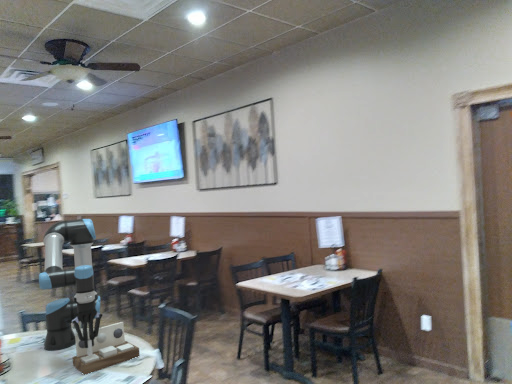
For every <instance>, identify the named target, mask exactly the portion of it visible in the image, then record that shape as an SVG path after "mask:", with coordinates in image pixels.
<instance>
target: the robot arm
mask: <svg viewBox="0 0 512 384" xmlns="http://www.w3.org/2000/svg"><path fill="white" fill-rule="evenodd" d="M96 239H97V236H96V230H95V226H94V221H93V220H92V219H91V218H80V219H70V220H61V221H60V220H59V221H57V222H55V223H53V224H52V225H50V226H49V228H47V229H46V231H45V233H44V236H43V245H44V246H45V248H44V271H43V272H40V273H39V274H38V284H39V286H38V287H39V289H40V290H51V289H57V288H58V289H59V288H63V287H71V286H75V295H74V296H73V299H70V297H63V298H59V299H55V300H53V301H51V302H48V303H47V304H46V306H45V313H44V314H45V322H46V336H45V339H44V342H43V343H44V344H43V347H44V350H45V349H46V350H47V351H59V350H62V349H66V348H69V347H72V346H74V345H76V339H75V334H78V337H79V339H80V340H81V341H84V347H85V348H87V355H89V356H90V355H93V353H92V346H94V339H95V337H97V336H98V332H99V328H100V324H101V320H102V317H103V314H102V313H101V296H100V295H98V291H97V292H96V291H95V281H94V279H95V277H94V269H93V260H92V259H93V258H92V245H93V244H94V241H95V240H96ZM64 243H69V245H70V247H72V248H73V258H74V268H69V269H63V268H64V267H63V245H64ZM94 320H95V322H94ZM79 322H81V325H82V327H80V324H79ZM72 324H73V325H74V329H75V332H76V333H75V332H74V330H73V327H72ZM81 328H82V330H81ZM93 330H94V331H93ZM87 331H89V338H90V339H88V332H87ZM82 332H83V336H82ZM46 350H45V351H46Z"/></svg>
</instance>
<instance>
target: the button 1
mask: <svg viewBox="0 0 512 384" xmlns="http://www.w3.org/2000/svg"><path fill="white" fill-rule="evenodd" d="M96 360H99V356H97V355H96V354H93V355H90V356H86V357H82V358H81V362H83V363H84V364H86V363H89V362H93V361H96Z"/></svg>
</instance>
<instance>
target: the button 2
mask: <svg viewBox="0 0 512 384" xmlns="http://www.w3.org/2000/svg"><path fill="white" fill-rule="evenodd" d="M129 343H130V342H129ZM129 343H128V344H125V345H122V346H118V347H116V348H117V350H118V351H119V352H124V351H127V350H130V349H133V348H134V346H135V345H134V344H133V345H134V346H133V345H131V344H132V343H131V344H129Z"/></svg>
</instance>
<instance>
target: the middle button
mask: <svg viewBox="0 0 512 384" xmlns="http://www.w3.org/2000/svg"><path fill="white" fill-rule="evenodd" d="M115 354H117V348H115V347H113V346H109V347H106V348H103V349H100V350H99V355H100V356H101V357H103V358H105V357H108V356H111V355H115Z"/></svg>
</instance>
